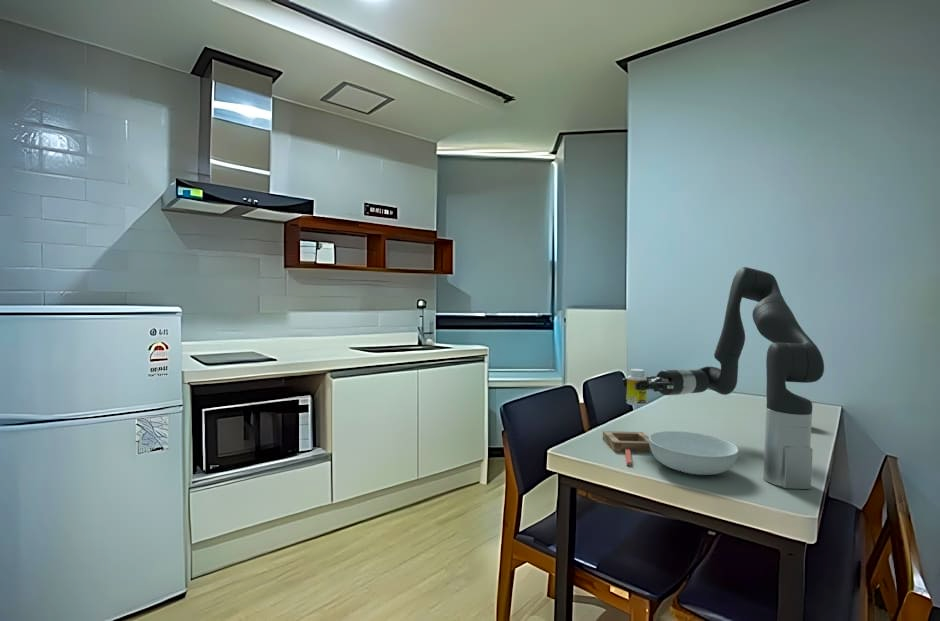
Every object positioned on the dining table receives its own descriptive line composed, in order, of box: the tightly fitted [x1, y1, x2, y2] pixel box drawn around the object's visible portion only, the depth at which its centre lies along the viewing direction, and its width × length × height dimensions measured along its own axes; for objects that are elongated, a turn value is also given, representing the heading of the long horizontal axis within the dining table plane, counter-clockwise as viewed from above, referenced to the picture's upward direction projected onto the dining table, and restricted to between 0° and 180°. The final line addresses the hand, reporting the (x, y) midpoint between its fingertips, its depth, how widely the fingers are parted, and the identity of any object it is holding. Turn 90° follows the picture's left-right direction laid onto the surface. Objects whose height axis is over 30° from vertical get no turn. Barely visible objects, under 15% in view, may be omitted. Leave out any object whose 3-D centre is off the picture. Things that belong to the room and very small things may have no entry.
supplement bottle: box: [625, 368, 647, 407], centre depth 150 cm, size 6×6×10 cm
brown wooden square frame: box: [602, 430, 652, 453], centre depth 149 cm, size 12×12×2 cm
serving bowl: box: [648, 430, 740, 476], centre depth 130 cm, size 21×21×7 cm
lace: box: [624, 449, 633, 467], centre depth 136 cm, size 12×1×1 cm, turn 165°
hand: (629, 384), depth 150 cm, fingers closed on supplement bottle, 5 cm apart
